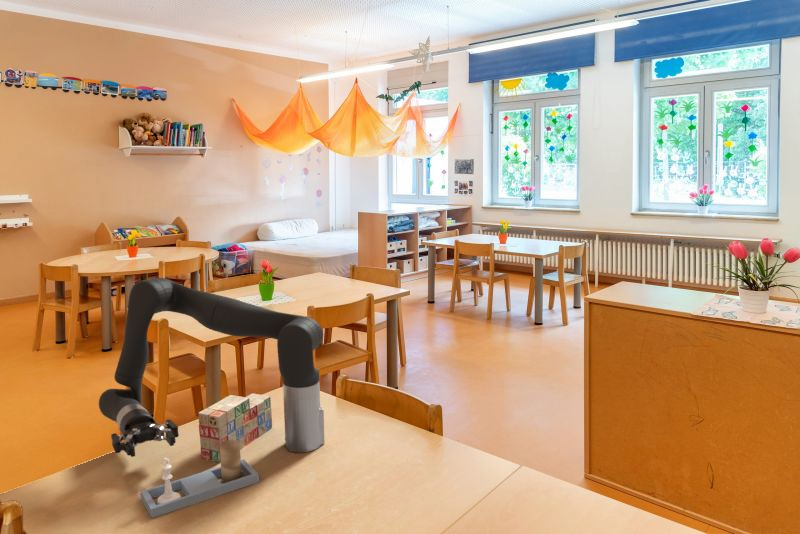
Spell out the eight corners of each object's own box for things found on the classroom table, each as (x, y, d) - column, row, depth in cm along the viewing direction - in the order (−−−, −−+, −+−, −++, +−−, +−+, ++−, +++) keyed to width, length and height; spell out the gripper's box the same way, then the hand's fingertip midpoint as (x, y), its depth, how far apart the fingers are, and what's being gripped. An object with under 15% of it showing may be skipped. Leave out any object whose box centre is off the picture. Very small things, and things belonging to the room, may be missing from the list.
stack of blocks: (254, 424, 169) (251, 382, 166) (272, 428, 166) (270, 385, 164) (200, 458, 149) (197, 412, 147) (221, 463, 147) (218, 416, 145)
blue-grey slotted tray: (244, 466, 145) (244, 459, 145) (258, 481, 138) (258, 473, 138) (141, 499, 131) (140, 491, 131) (151, 518, 124) (151, 509, 124)
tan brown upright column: (237, 473, 142) (235, 438, 140) (244, 481, 138) (242, 445, 137) (219, 479, 139) (216, 443, 138) (226, 487, 136) (223, 450, 134)
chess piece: (151, 504, 129) (148, 461, 128) (168, 492, 134) (165, 451, 132) (169, 509, 127) (166, 465, 126) (186, 497, 132) (183, 455, 130)
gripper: (103, 416, 146) (118, 440, 133) (163, 401, 154) (183, 423, 141) (106, 445, 147) (121, 472, 134) (166, 429, 156) (185, 453, 143)
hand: (153, 447), depth 138 cm, fingers open, 8 cm apart
